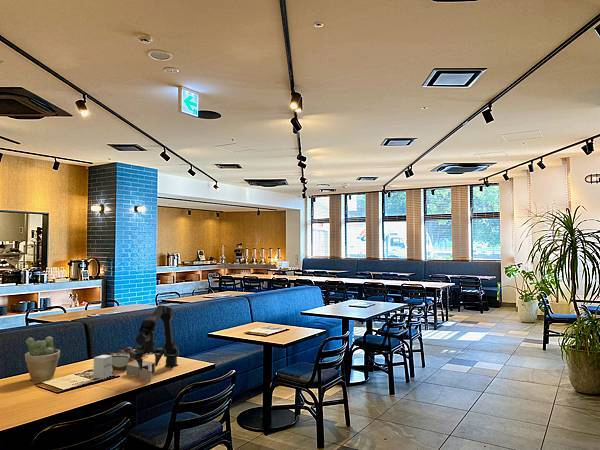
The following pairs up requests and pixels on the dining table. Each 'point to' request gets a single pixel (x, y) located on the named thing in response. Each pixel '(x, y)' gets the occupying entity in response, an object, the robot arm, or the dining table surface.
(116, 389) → the dining table surface
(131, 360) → the tray of pastries
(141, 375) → the end flap
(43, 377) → the potted plant
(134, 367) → the carton
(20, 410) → the dining table surface
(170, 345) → the robot arm
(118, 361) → the food container
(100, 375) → the supplement box
